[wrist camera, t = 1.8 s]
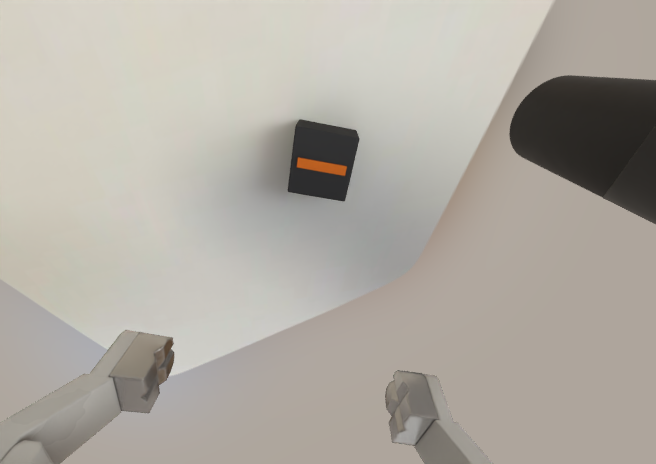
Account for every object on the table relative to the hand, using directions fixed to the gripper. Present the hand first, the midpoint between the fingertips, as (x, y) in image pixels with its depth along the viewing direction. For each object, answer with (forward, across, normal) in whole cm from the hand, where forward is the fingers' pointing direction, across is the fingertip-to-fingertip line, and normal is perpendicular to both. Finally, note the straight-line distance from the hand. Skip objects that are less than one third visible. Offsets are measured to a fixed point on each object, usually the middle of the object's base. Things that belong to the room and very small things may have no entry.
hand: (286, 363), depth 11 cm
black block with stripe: (+19, 0, -2) cm, 20 cm away
